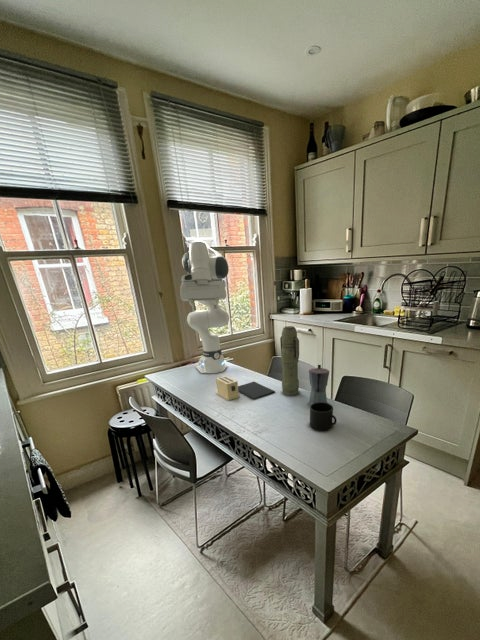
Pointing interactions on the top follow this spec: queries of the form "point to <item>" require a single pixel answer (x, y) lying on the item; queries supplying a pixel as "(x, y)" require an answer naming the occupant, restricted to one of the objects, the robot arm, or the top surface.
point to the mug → (321, 416)
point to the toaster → (227, 387)
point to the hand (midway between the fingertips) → (205, 309)
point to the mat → (254, 390)
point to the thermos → (290, 360)
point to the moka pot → (318, 384)
